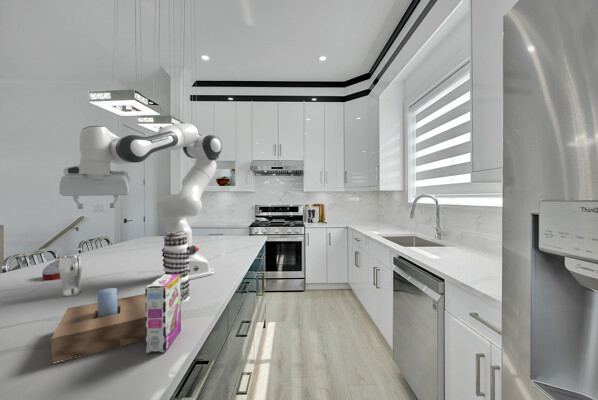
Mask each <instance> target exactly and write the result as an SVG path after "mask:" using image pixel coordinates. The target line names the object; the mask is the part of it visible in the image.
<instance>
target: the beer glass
mask: <svg viewBox="0 0 598 400" xmlns="http://www.w3.org/2000/svg"><path fill="white" fill-rule="evenodd" d="M58 258H59V259H58V260H59V273H60V277H61V279H60V280H61V283H62V285H61V286H62V288H61V289H62V290H61V297H63V298H66V297H72V296H73V297H74V296H77V295H79V294H81V293H82V288H81V278H82V271H83V260H82V255H81V254H78V253H77V254H68V255H63V256H60V257H58Z"/></svg>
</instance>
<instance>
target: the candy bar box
mask: <svg viewBox="0 0 598 400" xmlns="http://www.w3.org/2000/svg"><path fill="white" fill-rule="evenodd" d="M180 281H181V274H166V275H165V274H163V275H161V276H160V277H159V278H156V279H155V280H154V281H152V282H150V284H148V285H147V286H145V287H144V289H145V290H144V291H145V293H144V294H145V302H146V340H145V353H146V354H158V353H159V354H161V353H162V354H163V353H166V352H167V351H168V350H169V348H170V346H171V345H172V343H174V341H175V339H176V338H177V336H178V335H179V334H180V333H181V331H182V313H181V309H182V306H181V304H182V303H181V282H180Z"/></svg>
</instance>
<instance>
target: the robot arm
mask: <svg viewBox="0 0 598 400" xmlns="http://www.w3.org/2000/svg"><path fill="white" fill-rule="evenodd" d="M222 146H223V145H222V140H220V137H218V136H216V135H211V134H208V135H199V130H198V128H197V127H196V126H195V125H194V124H192V123H186V122H183V123H173V124H171V125H170V124H169V125H167V126H163V127H162V128H160V129H158V131H157V133H156V134H153V135H150V136H149V135H148V136H140V135H135V134H130V135H126V136H123V137H119V136H118V135H116V134H115V133H113V132H111V131H110V130H109V129H108V128H107V127H106V126H102V125H89V126H86V127H83V128H82V129H81V130H80V134H79V151H80V154H81V155H80V159H79V165H73V166H69V167H64V168H63V174H64V175H63V176H61V178H60V181H59V189H58V190H59V195H61V197H72V200H73V201H74V202H75V204H77V210H80V209H81V210H83V209H84V203H80V202H79V199H80V197H94V196H95V197H96V196H97V197H98V196H99V197H100V196H101V197H102V196H113V199H114V200H113V201H112V202H111V203H109V208H110V209H114V208H116V203H117V201H118V199H119V196H128V195H129V193H130V191H129V189H130V188H129V182H130V174H129V173H127V172H125V171H123V170H120V171H118V170H111V163H113V164H117V165H125V164H133V163H134V164H135V163H142V162H143V161H145V160H146V159H147V158H149V156H150V155H151V154H153V153H155V152H159V151H162V150H165V151H174V150H180V149H182V151H183V153H184V154H185V156H186V157H188V158H191V159H195V163H194V164H193V166H191V168H190V169H189V170H188V172H187V173H186V175H185V176H184V178H182V181H181V184H182V187H181V190H180V191H179V192H178V193H177V194H174V193H173V194H170V193H169V194H166V195H163V196H161V197H160V198H158V200H157V201H156V204H155V205H156V209H157V211H158V213H159V214H160V215H161V218H162V220H163V224H164V228H165V233H166V234H167V233H169V232H176V231H182V232H184V233H185V234H186V235H188V236H187V244H188V247H190V248H189V249H187V252H189V254H188V255H187V256H189V258H188V260H187V261H188V262H189V264H187V265H188V266H189V268H188V269H187V271H188V273H187V274H188V279H189V281H191V280H194V279H199V278H202V277H204V278H205V277H206V276H207V277H208V276H213V275H214V274H215V270H214V268H213V267H211V266H210V263H209V261H208V259H207V258H206V257H204V256H203V255H201V254H200V253H198V252H199V251H200V248H199V247H198V246H196V245H193V230H192V228H191V226H190V225H189V223H188V221H187V219H188V218H193V217H196V216H198V215H199V214H200V213H201V212H202V208H203V205H202V204H203V203H202V200H201V198H202V195H203V193H204V192H205V190H206V188H207V187H208V185H209V184H210V182H211V180H212V179H213V178H214V175H215V173H216V170H217V168H218V167H217V162H216V160H218V159H219V158H220V154H221V152H222V148H223V147H222Z"/></svg>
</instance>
